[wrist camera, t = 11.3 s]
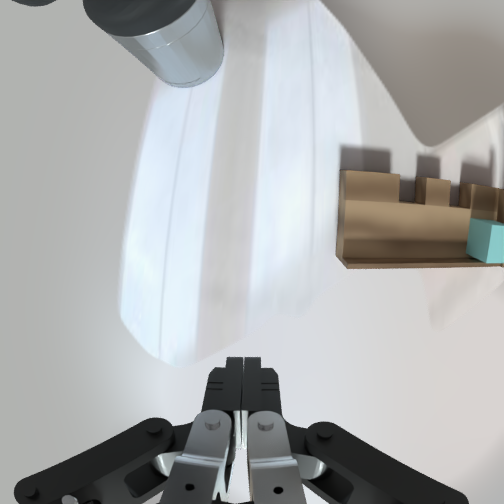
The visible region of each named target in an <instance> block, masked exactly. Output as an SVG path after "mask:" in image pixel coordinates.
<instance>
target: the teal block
mask: <svg viewBox="0 0 504 504" xmlns="http://www.w3.org/2000/svg"><path fill="white" fill-rule="evenodd" d="M466 254H468V255H470V256H473V257H475V258H477V259H479V260H481V261H483V262H485V263H504V223H500V222H497V221H494V220H486V219H475V218H470V225H469V233H468V241H467V248H466Z"/></svg>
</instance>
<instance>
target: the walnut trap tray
mask: <svg viewBox="0 0 504 504" xmlns="http://www.w3.org/2000/svg"><path fill="white" fill-rule="evenodd" d="M450 184H451V181H450V180H442V179H435V178H427V177H417V176H416V186H415V202H405V201H399V188H400V175H399V174H389V173H378V172H366V171H352V170H340V184H339V210H338V229H337V245H336V257H337V258H338V259H339V260H340V261H341V262H342V263H343V265H344V266H345V267H346V268H347V269H377V268H378V269H381V268H382V269H387V268H451V267H493V266H501V267H504V263H485V262H483V261H481V260H479V259H477V258H475V257H473V256H470V255H468V254H466V248H467V241H468V233H469V225H470V218H475V219H486V220H494V221H497V222H500V223H504V189H499V188H494V187H488V186H482V185H476V184H470V183H463V182H460V191H459V206H453V205H449V201H450Z"/></svg>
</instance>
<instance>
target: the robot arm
mask: <svg viewBox="0 0 504 504" xmlns="http://www.w3.org/2000/svg"><path fill="white" fill-rule="evenodd" d="M12 1H15V2H17V3H20V4H24V5H28V6H44V5H48V4H50V3H52V2H54V1H56V0H12ZM83 6H84V9H85V11H86V13H87V15H88V17H89V18H90V19H91V20H92V21H93V22H94V23H95V24H96V25H97V26H98V27H100V28H101V29H102V30H104V31H105V32H106V33H107V34H108V35H110V36H111V37H112V38H113V39H115V40H116V41H117V42H118V43H119V44H121V45H122V46H123V47H124V48H125V49H127V50H128V51H129V52H130V53H131V54H132V55H134V56H135V57H136V58H137V59H138V60H139V61H141V62H142V63H143V64H144V65H145V66H146V67H147V68H149V69H150V70H151V71H152V72H153V73H154V74H155V75H156V76H157V77H159V78H160V79H161V80H162V81H163V82H165V83H166V84H169V85H171V86H174V87H181V88H187V87H193V86H196V85H199V84H201V83H203V82H205V81H207V80H208V79H209V78H211V77H212V76H213V75H214V74H215V73H216V72H217V70H218V69H219V67H220V65H221V63H222V60H223V56H224V48H223V44H222V40H221V37H220V32H219V29H218V25H217V22H216V18H215V15H214V11H213V7H212V4H211V0H83ZM242 436H243V437H242ZM242 438H243V449H247V466H248V480H249V492H250V501H249V502H244V503H238V504H307V503H306V498H305V494H304V490H303V486H302V484H304V485H305V486H306V487H308V488H309V489H310V490H312V491H313V492H314V493H315V494H317V495H318V496H320V497H321V498H322V499H324V500H325V501H326V502H328V503H329V504H469V502H468V499H467V497H466V496H465V495H464V494H463V493H461V492H459V491H457V490H455V489H453V488H451V487H448V486H446V485H444V484H442V483H440V482H438V481H436V480H434V479H432V478H430V477H428V476H426V475H424V474H422V473H420V472H418V471H416V470H414V469H412V468H410V467H408V466H407V465H405V464H403V463H401V462H399V461H397V460H395V459H394V458H392V457H390V456H388V455H387V454H385V453H383V452H381V451H379V450H378V449H375V448H374V447H373V446H370V445H369V444H367V443H366V442H364V441H362V440H361V439H359V438H357V437H356V436H354V435H352V434H350V433H349V432H347V431H346V430H344V429H343V428H341V427H339V426H338V425H336V424H334V423H330V422H318V423H314V424H312V425H311V426H309V427H308V428H307V429H306V428H301V427H297V426H294V425H291V424H289V423H288V422H287V421H285V419H284V418H283V416H282V410H281V400H280V391H279V380H278V374H277V373H276V372H275V371H274V369H273V368H261V358H260V357H245V360H244V365H243V357H227V360H226V367H225V368H220V367H215V368H214V369H213V370H212V371H211V372H210V374H209V377H208V382H207V386H206V391H205V396H204V401H203V406H202V411H201V413H199V414H198V415H197V416H196V417H195V419H194V421H193V422H191V423H188V424H185V425H178V426H172V424H171V423H170V422H169V421H167V420H165V419H163V418H149V419H146V420H144V421H142V422H140V423H138V424H137V425H135V426H133V427H131V428H129V429H127V430H126V431H124V432H122V433H120V434H118V435H116V436H114V437H112V438H110V439H108V440H106V441H104V442H103V443H101V444H99V445H97V446H95V447H93V448H91V449H88V450H87V451H84V452H82V453H80V454H78V455H76V456H74V457H72V458H70V459H68V460H65V461H63V462H61V463H59V464H57V465H54V466H52V467H50V468H48V469H45V470H43V471H41V472H38V473H36V474H34V475H31V476H29V477H26V478H24V479H22V480H20V481H19V482H18V483H17V484H16V486H15V488H14V496H15V499H16V501H17V502H18V503H19V504H142V503H144V502H146V501H147V500H149V499H150V498H152V497H153V496H155V495H157V494H158V493H160V492H161V491H163V490H164V491H163V494H162V497H161V500H160V502H159V503H157V504H232V503H228V496H229V490H230V484H231V479H232V473H233V467H234V459H235V451H236V449H241V442H242Z"/></svg>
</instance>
